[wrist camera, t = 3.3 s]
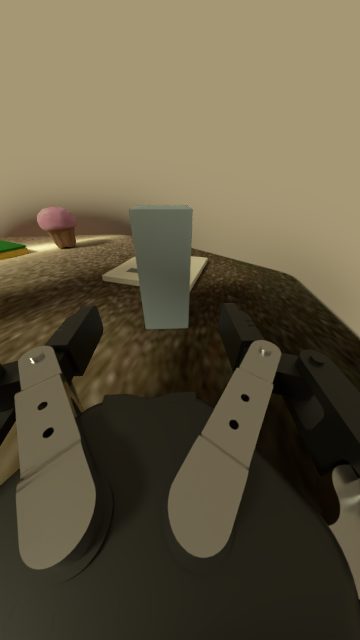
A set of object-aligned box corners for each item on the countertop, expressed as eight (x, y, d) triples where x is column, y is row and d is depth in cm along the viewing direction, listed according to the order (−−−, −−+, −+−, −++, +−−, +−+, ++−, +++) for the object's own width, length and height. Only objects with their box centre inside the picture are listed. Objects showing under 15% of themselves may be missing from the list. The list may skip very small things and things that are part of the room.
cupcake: (82, 242, 56) (71, 204, 50) (85, 248, 50) (72, 206, 44) (49, 245, 53) (33, 205, 47) (48, 253, 46) (29, 207, 41)
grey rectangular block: (145, 329, 21) (128, 209, 14) (149, 306, 25) (138, 205, 18) (188, 328, 21) (192, 209, 14) (185, 306, 25) (187, 205, 18)
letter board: (103, 280, 32) (101, 275, 31) (143, 256, 44) (143, 251, 44) (188, 293, 28) (189, 287, 28) (207, 262, 41) (207, 257, 40)
